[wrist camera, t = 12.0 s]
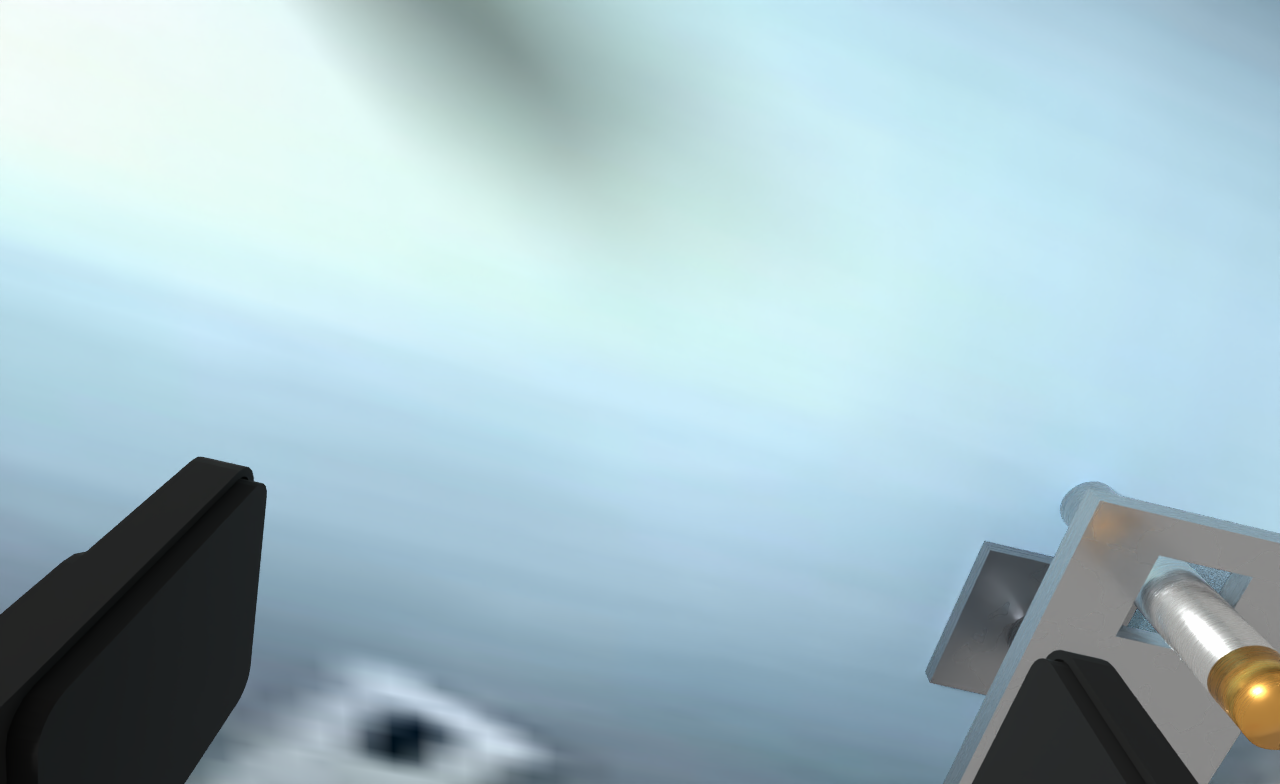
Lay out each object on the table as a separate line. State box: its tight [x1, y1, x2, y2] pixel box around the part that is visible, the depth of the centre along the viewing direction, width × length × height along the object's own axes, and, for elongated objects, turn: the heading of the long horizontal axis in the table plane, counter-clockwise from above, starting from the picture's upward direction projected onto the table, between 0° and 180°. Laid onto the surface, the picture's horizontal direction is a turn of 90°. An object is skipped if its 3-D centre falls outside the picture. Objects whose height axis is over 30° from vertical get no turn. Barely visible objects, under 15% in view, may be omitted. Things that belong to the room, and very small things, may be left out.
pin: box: [1060, 482, 1280, 750], centre depth 35 cm, size 3×3×14 cm
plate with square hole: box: [926, 488, 1280, 784], centre depth 38 cm, size 20×10×11 cm, turn 166°
